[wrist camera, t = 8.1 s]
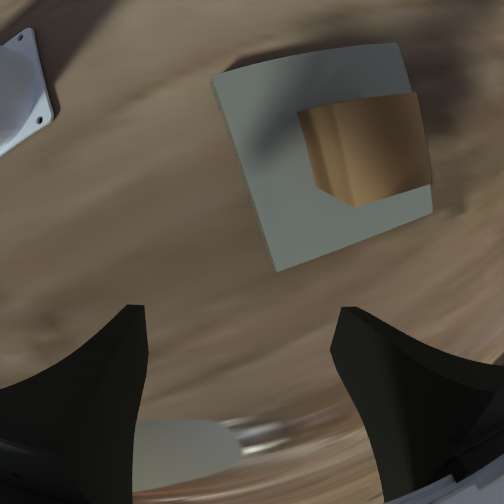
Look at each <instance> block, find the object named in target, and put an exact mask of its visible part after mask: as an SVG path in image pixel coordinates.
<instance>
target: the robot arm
mask: <svg viewBox="0 0 504 504" xmlns="http://www.w3.org/2000/svg"><path fill="white" fill-rule="evenodd" d="M22 36H23V38H22V40H21V41H20V39H21V37H22ZM41 117H42V118H43V121H42V123H41V124H40V123H39V119H40V118H41ZM53 118H54V113H53V109H52V106H51V102H50V99H49V95H48V92H47V88H46V84H45V80H44V76H43V72H42V68H41V64H40V59H39V55H38V50H37V45H36V40H35V35H34V30H33V29H31V28H26V29H24V30H23V31H22V32H20V33H19V34H17V35H16V36H15V37H13V38H12V39H10V40H9V41H8V42H6V43H5V44H4V45H3V46H1V45H0V157H1V156H2V155H4V154H5V153H6V152H8V151H9V150H10V149H12V148H13V147H15V146H16V145H17V144H19V143H20V142H22V141H23V140H25V139H26V138H28V137H29V136H31V135H32V134H34V133H35V132H37V131H38V130H40V129H41V128H43V127H45V126H46V125H48V124H49V123H51V122H52V120H53ZM330 352H331V355H332V358H333V361H334V364H335V366H336V369H337V372H338V374H339V376H340V378H341V380H342V381H343V383H344V385H345V387H346V389H347V391H348V393H349V395H350V397H351V399H352V401H353V402H354V404H355V406H356V408H357V410H358V412H359V414H360V416H361V418H362V421H363V423H364V426H365V429H366V431H367V434H368V437H369V440H370V443H371V446H372V449H373V453H374V456H375V459H376V463H377V467H378V471H379V475H380V480H381V485H382V490H383V496H384V502H385V503H384V504H504V366H499V365H491V364H486V363H481V362H476V361H472V360H468V359H464V358H461V357H458V356H455V355H451V354H449V353H446V352H443V351H441V350H438V349H436V348H433V347H431V346H429V345H426V344H424V343H422V342H420V341H418V340H416V339H414V338H412V337H410V336H408V335H406V334H405V333H403V332H401V331H399V330H397V329H396V328H394V327H392V326H390V325H389V324H387V323H385V322H384V321H382V320H380V319H378V318H377V317H375V316H373V315H371V314H370V313H368V312H366V311H364V310H362V309H360V308H358V307H341V311H340V315H339V319H338V322H337V326H336V330H335V333H334V337H333V340H332V344H331V347H330ZM148 353H149V351H148V341H147V332H146V321H145V309H144V305H128V304H127V305H126V306H125V307H124V308H123V309H122V310H121V311H120V312H119V313H118V314H117V315H116V316H115V317H114V318H113V319H112V320H111V321H110V322H108V323H107V324H106V325H105V326H104V327H103V328H102V329H101V330H100V331H99V332H98V333H97V334H95V335H94V336H93V337H92V338H91V339H89V340H88V341H87V342H86V343H85V344H83V345H82V346H81V347H80V348H78V349H77V350H76V351H74V352H73V353H72V354H70V355H69V356H67V357H66V358H64V359H63V360H61V361H60V362H58V363H57V364H55V365H53V366H51V367H49V368H48V369H46V370H44V371H42V372H40V373H38V374H37V375H35V376H32V377H30V378H28V379H26V380H24V381H21V382H19V383H16V384H14V385H11V386H8V387H6V388H3V389H0V504H132V463H133V441H134V432H135V425H136V420H137V415H138V410H139V406H140V401H141V397H142V392H143V388H144V383H145V378H146V373H147V363H148Z"/></svg>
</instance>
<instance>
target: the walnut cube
mask: <svg viewBox="0 0 504 504" xmlns="http://www.w3.org/2000/svg"><path fill="white" fill-rule="evenodd" d="M297 115H298V118H299V122H300V125H301V129H302V133H303V136H304V140H305V144H306V148H307V152H308V155H309V159H310V163H311V167H312V171H313V175H314V180H315V184H316V188H318V189H320V190H322V191H324V192H326V193H328V194H330V195H332V196H334V197H336V198H338V199H339V200H341V201H343V202H345V203H347V204H349V205H351V206H353V207H354V208H356V207H359V206H363V205H366V204H369V203H372V202H375V201H378V200H381V199H385V198H388V197H391V196H394V195H397V194H400V193H404V192H407V191H410V190H413V189H416V188H419V187H423V186H426V185H429V184H432V181H431V172H430V164H429V157H428V150H427V144H426V138H425V132H424V126H423V121H422V116H421V111H420V107H419V102H418V98H417V93H416V92H411V93H401V94H393V95H385V96H377V97H370V98H364V99H358V100H352V101H346V102H341V103H336V104H331V105H326V106H321V107H316V108H311V109H307V110H302V111H298V112H297Z"/></svg>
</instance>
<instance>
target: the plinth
mask: <svg viewBox="0 0 504 504" xmlns="http://www.w3.org/2000/svg"><path fill="white" fill-rule="evenodd" d="M211 86H212V89H213V92H214V95H215V98H216V101H217V104H218V106H219V109H220V112H221V115H222V118H223V121H224V124H225V127H226V130H227V133H228V136H229V139H230V142H231V144H232V147H233V150H234V153H235V156H236V159H237V162H238V165H239V168H240V171H241V174H242V177H243V180H244V183H245V186H246V189H247V192H248V195H249V198H250V201H251V204H252V207H253V210H254V213H255V216H256V219H257V222H258V225H259V228H260V231H261V234H262V237H263V241H264V244H265V247H266V250H267V253H268V256H269V258H270V260H271V262H272V264H273V266H274V268H275V270H276V272H279V271H282V270H284V269H287V268H290V267H293V266H295V265H298V264H301V263H303V262H306V261H309V260H312V259H314V258H317V257H320V256H322V255H325V254H328V253H330V252H333V251H336V250H338V249H341V248H343V247H346V246H349V245H351V244H354V243H357V242H359V241H362V240H364V239H367V238H370V237H372V236H375V235H377V234H380V233H382V232H385V231H387V230H390V229H393V228H395V227H398V226H400V225H403V224H405V223H408V222H410V221H413V220H415V219H418V218H420V217H423V216H425V215H428V214H430V213H433V208H432V198H431V190H430V184H429V185H426V186H423V187H419V188H416V189H413V190H410V191H407V192H404V193H400V194H397V195H394V196H391V197H388V198H385V199H381V200H378V201H375V202H372V203H369V204H366V205H363V206H359V207H356V208H354V207H353V206H351V205H349V204H347V203H345V202H343V201H341V200H339V199H338V198H336V197H334V196H332V195H330V194H328V193H326V192H324V191H322V190H320V189H318V188H316V184H315V180H314V175H313V171H312V167H311V163H310V159H309V155H308V152H307V148H306V144H305V140H304V136H303V133H302V129H301V125H300V122H299V118H298V115H297V112H298V111H302V110H307V109H311V108H316V107H321V106H326V105H331V104H336V103H341V102H346V101H352V100H358V99H364V98H370V97H377V96H385V95H393V94H401V93H411V92H412V89H411V86H410V82H409V78H408V75H407V71H406V68H405V65H404V62H403V58H402V55H401V52H400V49H399V46H398V43H397V42H396V43H379V44H367V45H357V46H348V47H340V48H333V49H326V50H320V51H314V52H308V53H302V54H297V55H292V56H287V57H282V58H278V59H273V60H269V61H265V62H261V63H257V64H253V65H249V66H245V67H241V68H238V69H234V70H231V71H227V72H224V73H220V74H217V75H214V76H212V77H211Z"/></svg>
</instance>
